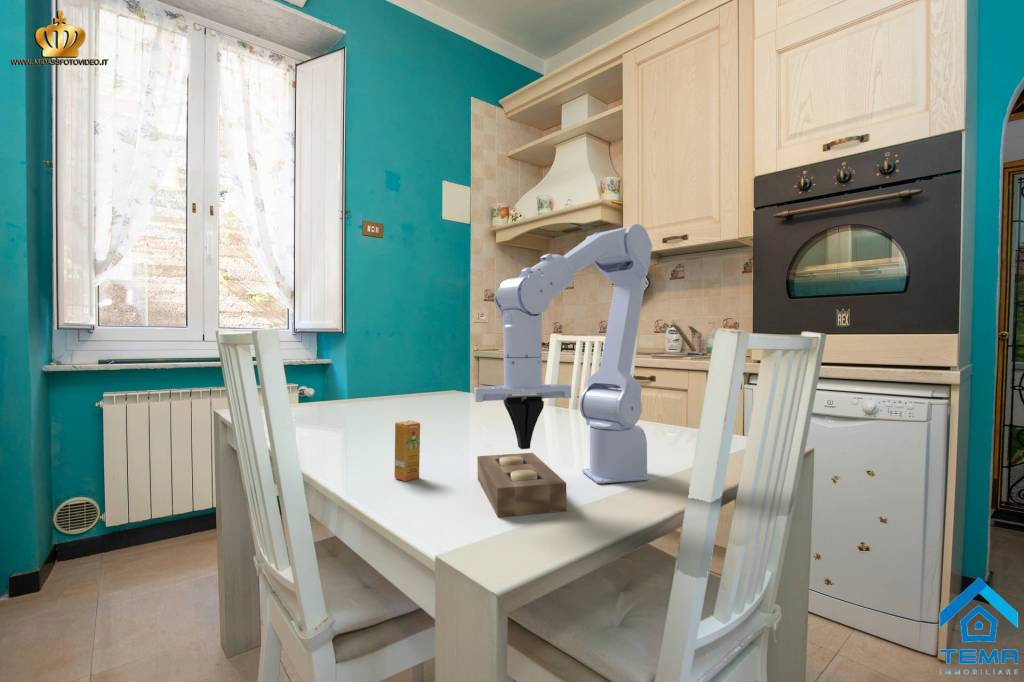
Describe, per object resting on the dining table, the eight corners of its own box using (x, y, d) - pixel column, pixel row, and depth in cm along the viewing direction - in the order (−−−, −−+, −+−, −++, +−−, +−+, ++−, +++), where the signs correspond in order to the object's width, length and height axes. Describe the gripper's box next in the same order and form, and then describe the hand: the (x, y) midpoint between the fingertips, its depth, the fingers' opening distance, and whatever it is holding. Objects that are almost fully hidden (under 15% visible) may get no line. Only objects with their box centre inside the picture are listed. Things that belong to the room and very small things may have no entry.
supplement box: (406, 482, 86) (405, 424, 86) (393, 478, 89) (393, 422, 88) (421, 477, 89) (420, 421, 89) (409, 474, 91) (408, 419, 91)
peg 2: (533, 494, 78) (533, 469, 77) (540, 502, 74) (540, 476, 74) (508, 496, 77) (508, 470, 77) (514, 504, 73) (513, 477, 73)
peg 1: (520, 478, 86) (520, 455, 86) (526, 484, 82) (525, 461, 82) (497, 479, 85) (497, 456, 85) (502, 486, 82) (501, 462, 82)
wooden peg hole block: (532, 474, 90) (532, 452, 90) (566, 510, 71) (566, 482, 71) (477, 478, 88) (477, 456, 88) (497, 517, 69) (497, 488, 69)
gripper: (478, 359, 69) (480, 457, 70) (577, 357, 73) (578, 450, 73) (471, 357, 76) (473, 446, 77) (562, 355, 79) (563, 440, 80)
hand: (523, 447), depth 75 cm, fingers closed
